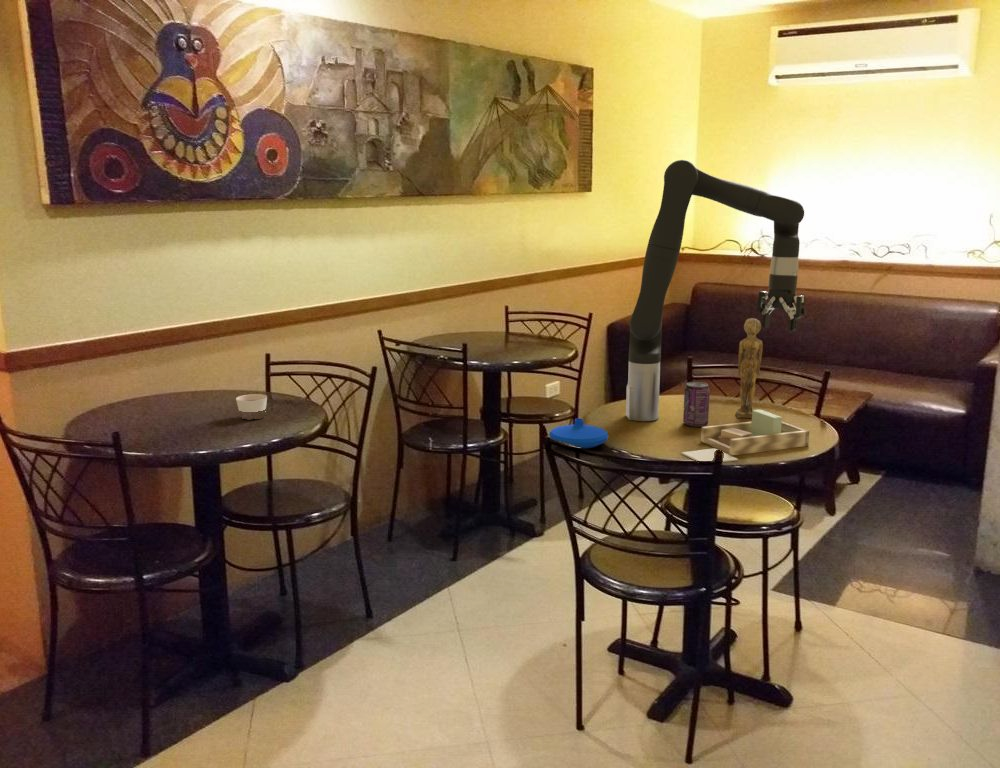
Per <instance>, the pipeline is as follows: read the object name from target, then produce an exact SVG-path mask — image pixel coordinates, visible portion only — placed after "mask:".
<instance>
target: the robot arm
mask: <svg viewBox="0 0 1000 768" xmlns="http://www.w3.org/2000/svg"><path fill="white" fill-rule="evenodd" d="M661 196H662V197H661V202H660V208H659V210H658V214H657V217H656V219H655V221H654V224H653V226H652V229H651V232H650V236H649V239H648V242H647V247H646V251H645V255H644V260H643V267H642V276H641V284H640V289H639V290H640V291H639V295H638V296H637V300H636V304H635V307H634V309H633V312H632V313H631V316H630V319H629V323H628V325H629V345H628V346H629V347H628V378H627V379H628V380H627V384H626V393H625V394H626V399H625V400H626V401H625V417H626V418H627V419H628V421H636V422H652V421H656V420H658V419H659V411H660V410H659V407H660V406H659V405H660V384H661V383H660V380H661V357H662V355H661V354H662V333H663V332H662V329H663V323H662V322H663V312H664V305H665V299H666V295H667V292H668V290H669V287H670V284H671V283H672V278H673V276H674V274H675V271H676V268H677V264H678V260H679V257H680V253H681V248H682V242H683V236H684V230H685V223H686V214H687V211H688V207H689V205H690V201H691V198H692V196H697V197H702V198H705V199H708V200H711V201H713V202H716V203H720V204H722V205H724V206H727V207H729V208H732V209H734V210H736V211H740V212H742V213H746V214H748V215H751V216H755V217H760V218H765V219H767V220H770V221H773V244H772V255H771V260H770V266H769V279H768V289H769V290H768V291H767V290H765V291H763V290H762V291H759V292H758V298H757V304H756V305H757V306H756V311H757V312H758V313H760V314H761V315H762V316H761V317H762V318H761V320H762V321H761V327H762V328H763V329H769V328H770V326H771V325H770V323H771V313H772V312H773V311H774V310H776V309H779V310H784V311H785V313H787V314H788V317H789V320H788V329H787V332H788V333H794V332H795V331H796V330H797V329H798V327H797V326H798V319H801V318H804V317H805V315H806V296H805V295H796V290H797V287H798V285H797V284H798V277H799V267H800V266H799V264H800V263H799V254H800V238H799V225H800V223H801V222H802V221H803V219H804V217H805V209H804V207H803V205H802V204H801V203H800V202H798V201H796V200H793V199H790V198H786V197H783V196H779V195H774V194H771V193H769V192H767V191H765V190H762V189H759V188H755V187H753V186H750V185H747V184H742V183H740V182H735V181H732V180H728V179H727V180H726V179H723V178H720V177H716V176H713V175H711V174H709V173H706V172H704V171H702V170H701V169H698V168H697V167H696V166H695V164H694V163H692V162H690V160H687V159H679V160H675V161H672V163H670V164H669V165H668V166H667V168H666V169H665V171H664V174H663V191H662V195H661ZM767 300H769V301H768V302H767Z"/></svg>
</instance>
